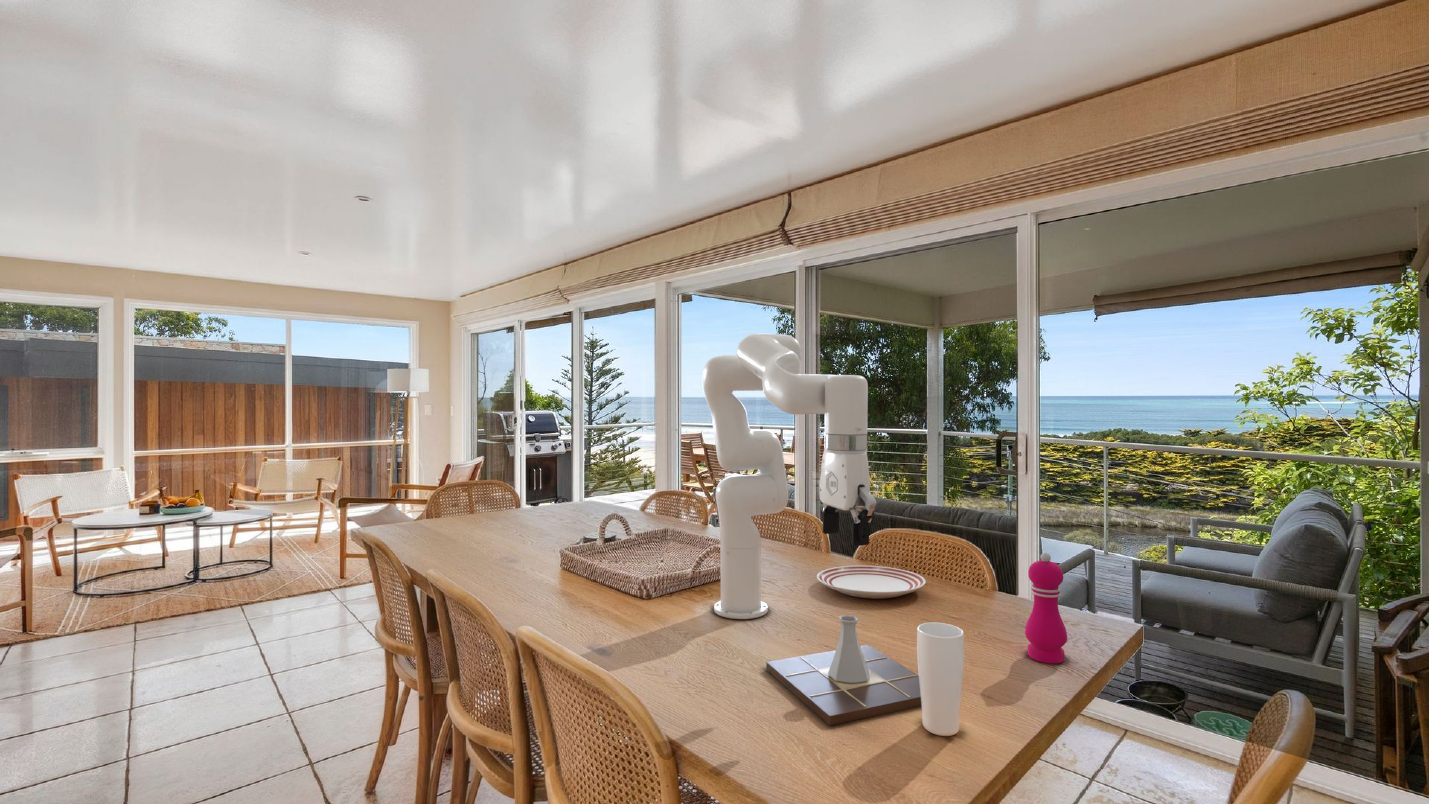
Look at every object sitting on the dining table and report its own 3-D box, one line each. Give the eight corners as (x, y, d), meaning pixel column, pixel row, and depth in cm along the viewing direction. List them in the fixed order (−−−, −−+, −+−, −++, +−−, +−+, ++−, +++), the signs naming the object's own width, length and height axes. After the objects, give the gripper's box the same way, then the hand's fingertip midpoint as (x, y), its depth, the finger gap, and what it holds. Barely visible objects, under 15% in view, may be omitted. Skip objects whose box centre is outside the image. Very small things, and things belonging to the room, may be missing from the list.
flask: (874, 684, 110) (874, 625, 110) (831, 684, 110) (830, 625, 110) (865, 666, 117) (864, 611, 117) (824, 666, 117) (824, 611, 117)
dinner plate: (805, 576, 182) (805, 564, 182) (900, 573, 185) (900, 561, 185) (834, 608, 155) (834, 594, 155) (944, 603, 158) (944, 589, 158)
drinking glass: (910, 718, 102) (909, 622, 101) (952, 716, 102) (951, 620, 102) (928, 741, 95) (927, 638, 95) (973, 739, 95) (972, 636, 95)
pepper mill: (1050, 667, 120) (1050, 559, 120) (1016, 654, 127) (1016, 551, 126) (1075, 660, 124) (1075, 554, 123) (1041, 647, 130) (1040, 547, 130)
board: (766, 670, 120) (766, 661, 120) (867, 652, 128) (867, 644, 128) (829, 726, 100) (829, 715, 100) (945, 700, 108) (945, 690, 108)
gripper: (803, 440, 124) (803, 530, 124) (854, 449, 108) (853, 552, 108) (838, 439, 127) (837, 527, 127) (892, 447, 110) (891, 548, 111)
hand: (845, 538), depth 118 cm, fingers open, 9 cm apart
